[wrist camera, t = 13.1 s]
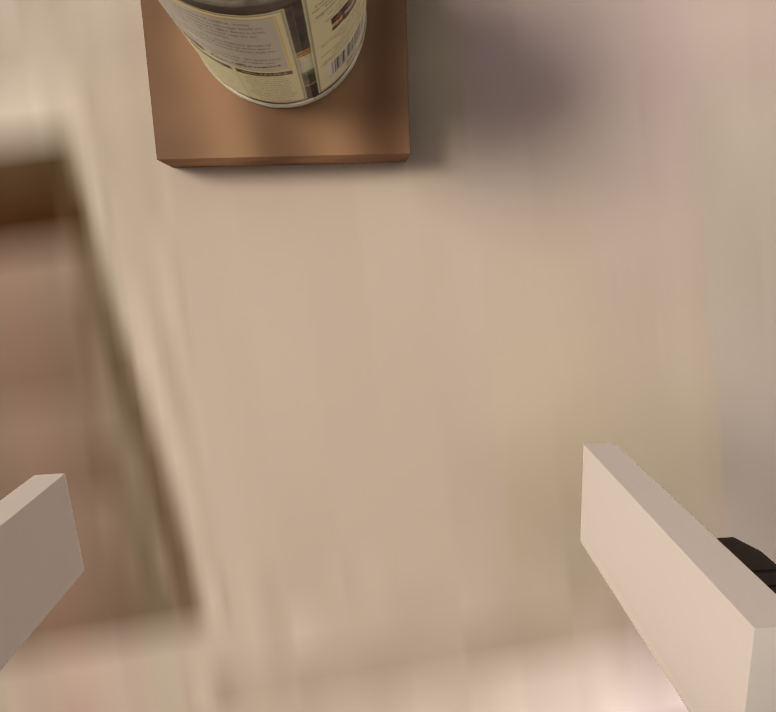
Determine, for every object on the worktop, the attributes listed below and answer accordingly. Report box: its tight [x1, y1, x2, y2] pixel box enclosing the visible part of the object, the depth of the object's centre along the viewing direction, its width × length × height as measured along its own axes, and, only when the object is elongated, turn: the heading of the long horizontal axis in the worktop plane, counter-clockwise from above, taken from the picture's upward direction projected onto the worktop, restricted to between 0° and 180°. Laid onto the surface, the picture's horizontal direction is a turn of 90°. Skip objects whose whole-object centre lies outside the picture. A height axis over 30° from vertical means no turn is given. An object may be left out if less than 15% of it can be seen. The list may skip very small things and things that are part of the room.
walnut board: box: [141, 0, 410, 167], centre depth 34 cm, size 15×15×3 cm
